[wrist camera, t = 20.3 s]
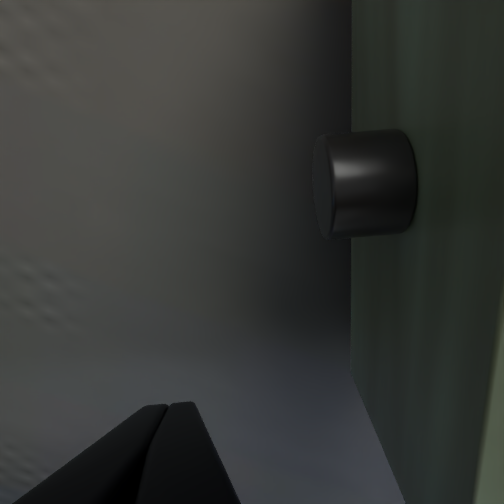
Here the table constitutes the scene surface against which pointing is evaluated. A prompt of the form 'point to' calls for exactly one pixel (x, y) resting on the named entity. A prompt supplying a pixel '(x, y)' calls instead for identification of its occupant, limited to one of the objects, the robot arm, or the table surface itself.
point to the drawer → (425, 239)
